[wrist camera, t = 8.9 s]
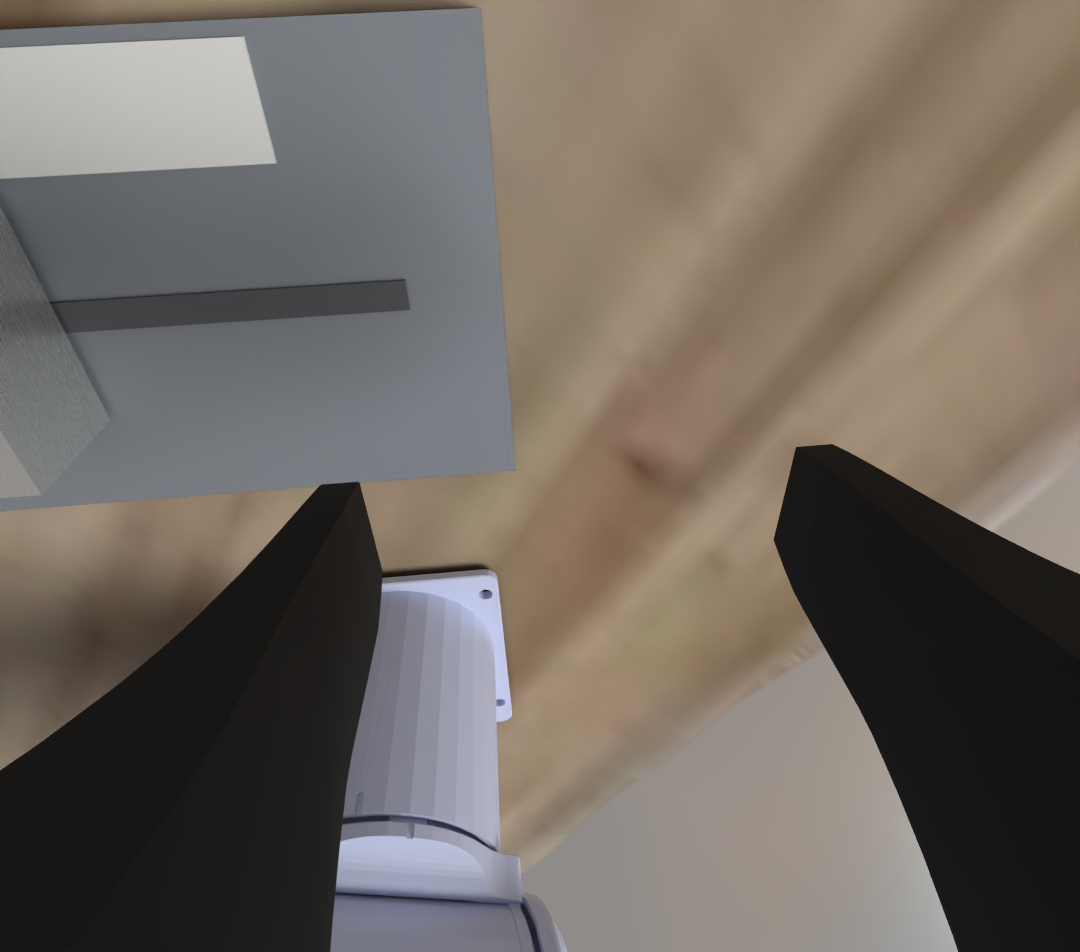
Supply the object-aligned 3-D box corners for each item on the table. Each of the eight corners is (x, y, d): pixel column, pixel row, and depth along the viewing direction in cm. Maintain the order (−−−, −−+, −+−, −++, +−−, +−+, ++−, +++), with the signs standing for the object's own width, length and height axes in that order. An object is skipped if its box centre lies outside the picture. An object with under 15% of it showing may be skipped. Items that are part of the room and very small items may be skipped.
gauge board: (514, 453, 21) (523, 555, 17) (-235, 511, 20) (-415, 635, 16) (480, 8, 14) (482, 1, 10) (-680, 62, 13) (-1206, 79, 9)
